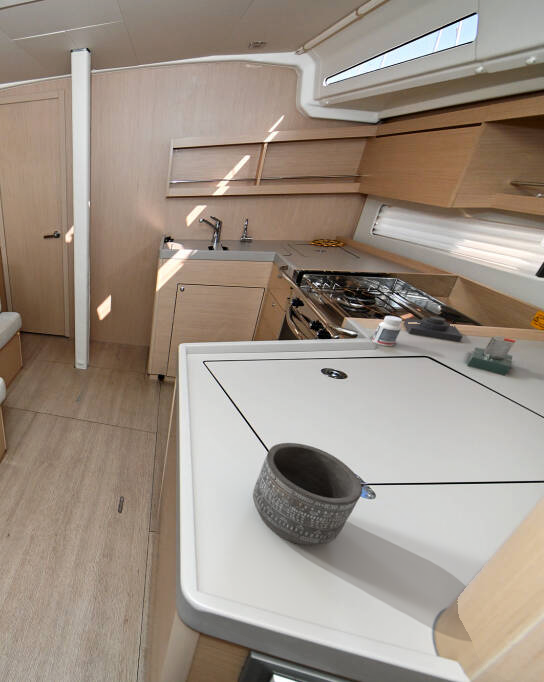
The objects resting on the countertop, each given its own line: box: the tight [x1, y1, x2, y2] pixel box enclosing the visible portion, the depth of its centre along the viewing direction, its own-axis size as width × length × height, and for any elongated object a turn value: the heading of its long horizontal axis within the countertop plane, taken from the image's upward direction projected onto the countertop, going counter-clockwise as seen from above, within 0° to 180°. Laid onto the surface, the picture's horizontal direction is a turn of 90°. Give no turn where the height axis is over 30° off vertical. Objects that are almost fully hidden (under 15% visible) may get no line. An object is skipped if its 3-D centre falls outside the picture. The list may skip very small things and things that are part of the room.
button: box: [428, 315, 446, 325], centre depth 119 cm, size 4×4×2 cm
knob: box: [482, 335, 517, 360], centre depth 99 cm, size 4×4×6 cm
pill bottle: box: [371, 315, 403, 347], centre depth 114 cm, size 5×5×9 cm
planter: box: [252, 442, 363, 546], centre depth 58 cm, size 12×12×13 cm
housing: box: [403, 317, 464, 343], centre depth 120 cm, size 12×10×4 cm
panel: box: [466, 346, 517, 376], centre depth 101 cm, size 9×8×3 cm
